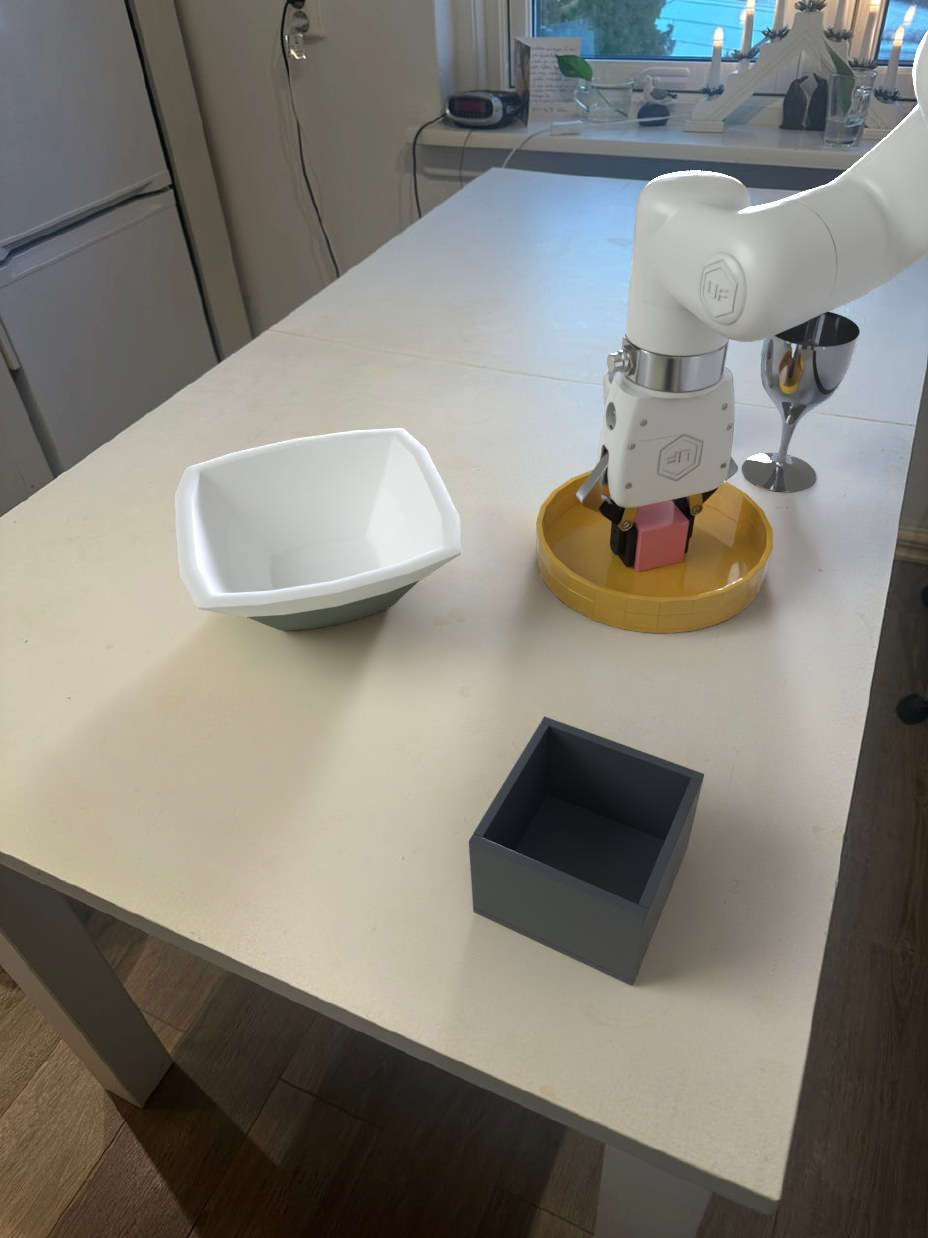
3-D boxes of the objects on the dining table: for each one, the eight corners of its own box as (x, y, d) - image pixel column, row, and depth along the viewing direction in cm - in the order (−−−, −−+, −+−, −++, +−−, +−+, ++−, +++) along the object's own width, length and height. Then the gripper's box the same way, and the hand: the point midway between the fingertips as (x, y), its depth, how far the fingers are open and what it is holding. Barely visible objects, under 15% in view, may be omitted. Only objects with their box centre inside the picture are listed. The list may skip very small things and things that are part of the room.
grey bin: (541, 789, 60) (544, 715, 55) (687, 847, 56) (704, 773, 51) (473, 912, 53) (467, 841, 48) (632, 987, 49) (645, 918, 44)
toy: (660, 533, 80) (666, 493, 77) (683, 561, 76) (689, 520, 74) (616, 543, 79) (619, 503, 76) (637, 572, 76) (641, 531, 73)
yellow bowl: (696, 477, 87) (700, 446, 85) (811, 601, 73) (821, 568, 70) (506, 518, 83) (506, 487, 81) (588, 657, 69) (591, 625, 67)
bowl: (418, 491, 87) (411, 416, 82) (485, 642, 71) (482, 560, 65) (194, 535, 83) (171, 459, 78) (210, 705, 67) (181, 624, 61)
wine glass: (825, 459, 88) (864, 315, 78) (814, 501, 83) (854, 352, 73) (745, 445, 91) (773, 304, 81) (729, 485, 86) (757, 339, 76)
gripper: (588, 400, 61) (577, 598, 73) (801, 359, 64) (756, 555, 76) (550, 355, 66) (545, 547, 79) (748, 320, 70) (713, 509, 82)
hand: (649, 549), depth 77 cm, fingers closed on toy, 4 cm apart
